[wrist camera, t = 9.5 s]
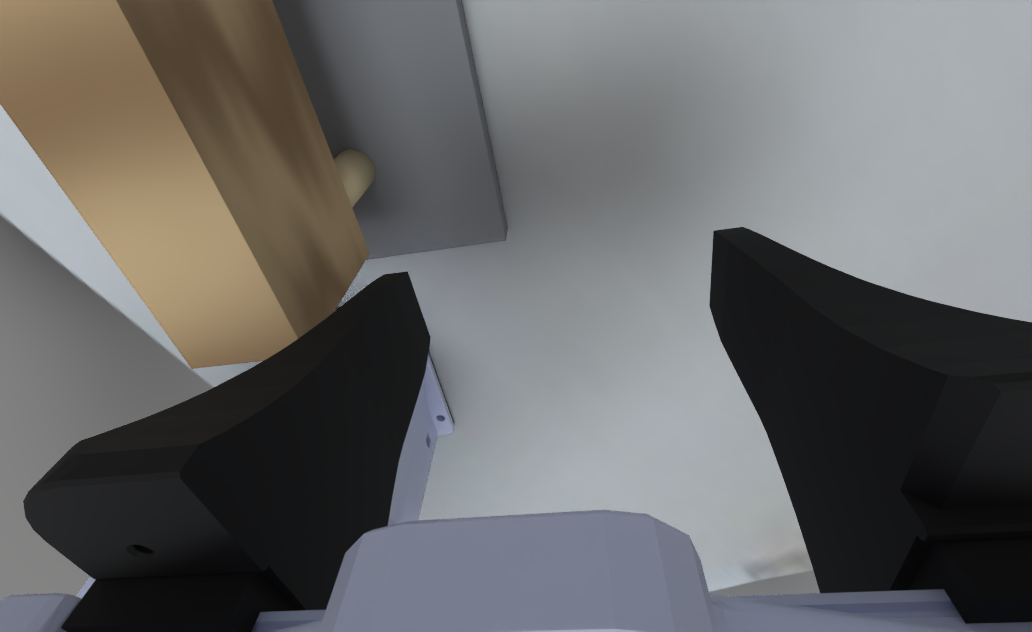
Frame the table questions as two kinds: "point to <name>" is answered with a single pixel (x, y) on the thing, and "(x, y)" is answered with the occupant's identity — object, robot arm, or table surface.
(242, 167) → the oak bar
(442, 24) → the peg stand
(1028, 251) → the table surface
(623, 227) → the table surface
